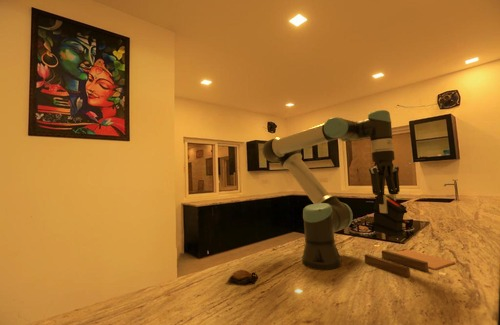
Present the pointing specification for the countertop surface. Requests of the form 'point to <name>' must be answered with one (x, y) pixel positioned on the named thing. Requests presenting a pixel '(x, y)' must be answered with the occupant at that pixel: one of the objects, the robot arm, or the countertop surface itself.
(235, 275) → the brown toy turtle
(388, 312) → the countertop surface
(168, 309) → the countertop surface
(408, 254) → the mat
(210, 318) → the countertop surface
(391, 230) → the magazine
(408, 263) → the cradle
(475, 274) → the countertop surface
